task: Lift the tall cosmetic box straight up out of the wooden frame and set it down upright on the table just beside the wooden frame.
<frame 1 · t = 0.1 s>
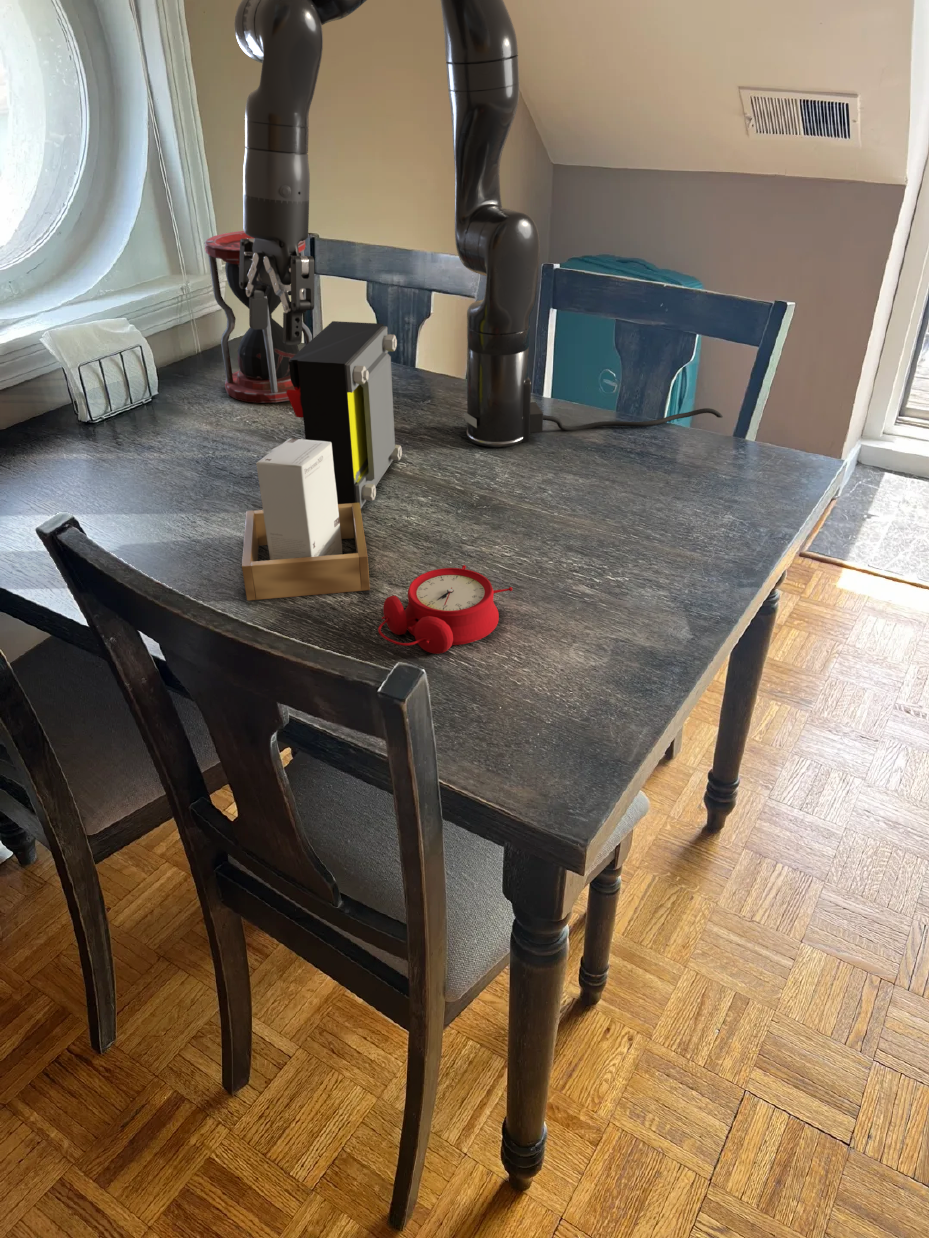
hand: (274, 336, 117), 22 cm above the table, tool pointing down, fingers open, 8 cm apart
wooden frame: (307, 565, 114), on the table
cosmetic box: (308, 567, 114), resting in wooden frame
hourglass: (272, 389, 167), on the table
alarm clock: (440, 628, 103), on the table
electrical component: (354, 483, 134), on the table
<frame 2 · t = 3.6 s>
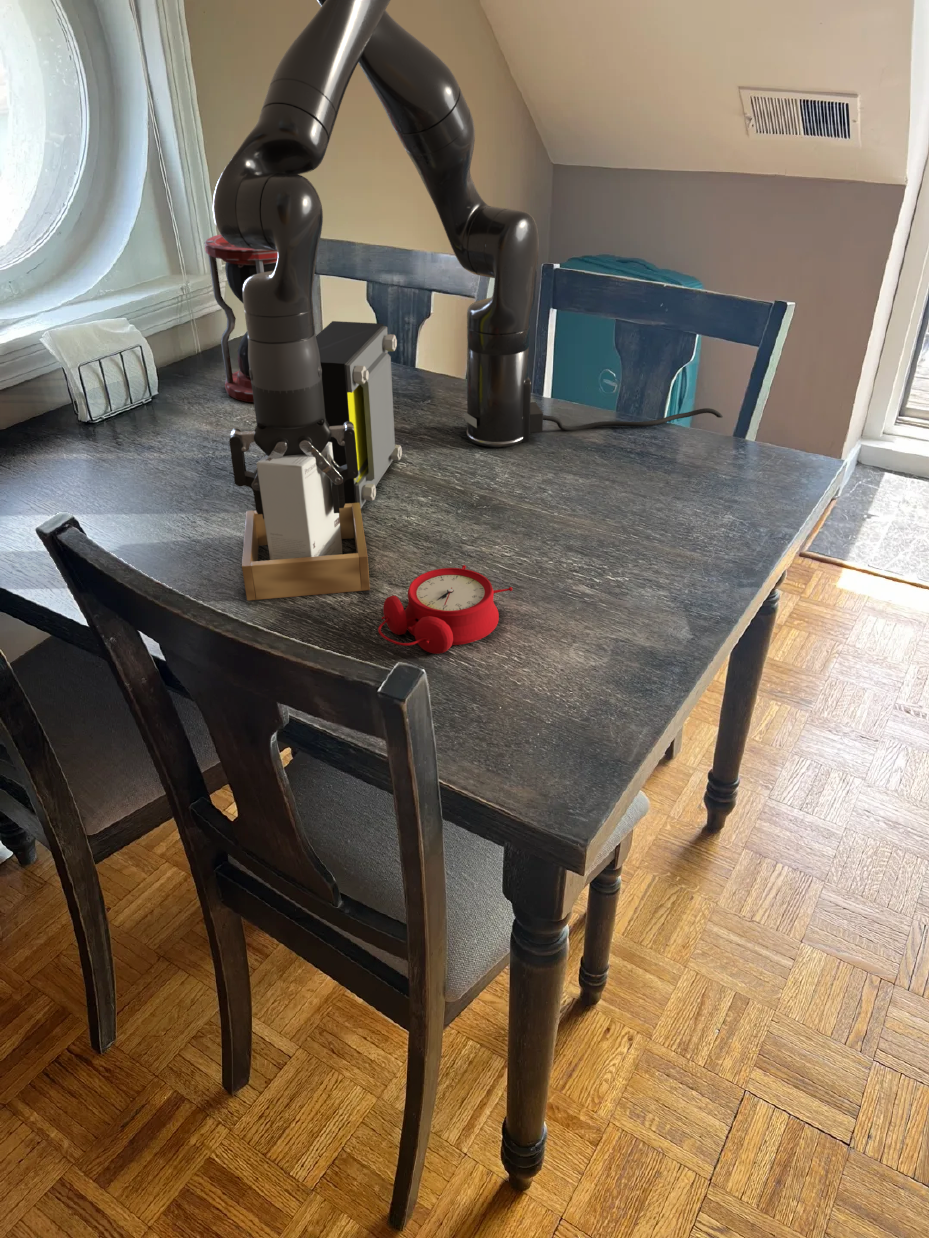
hand: (301, 513, 110), 7 cm above the table, tool pointing down, fingers closed on cosmetic box, 7 cm apart
cosmetic box: (308, 567, 114), resting in wooden frame, touching gripper
everything else where it was.
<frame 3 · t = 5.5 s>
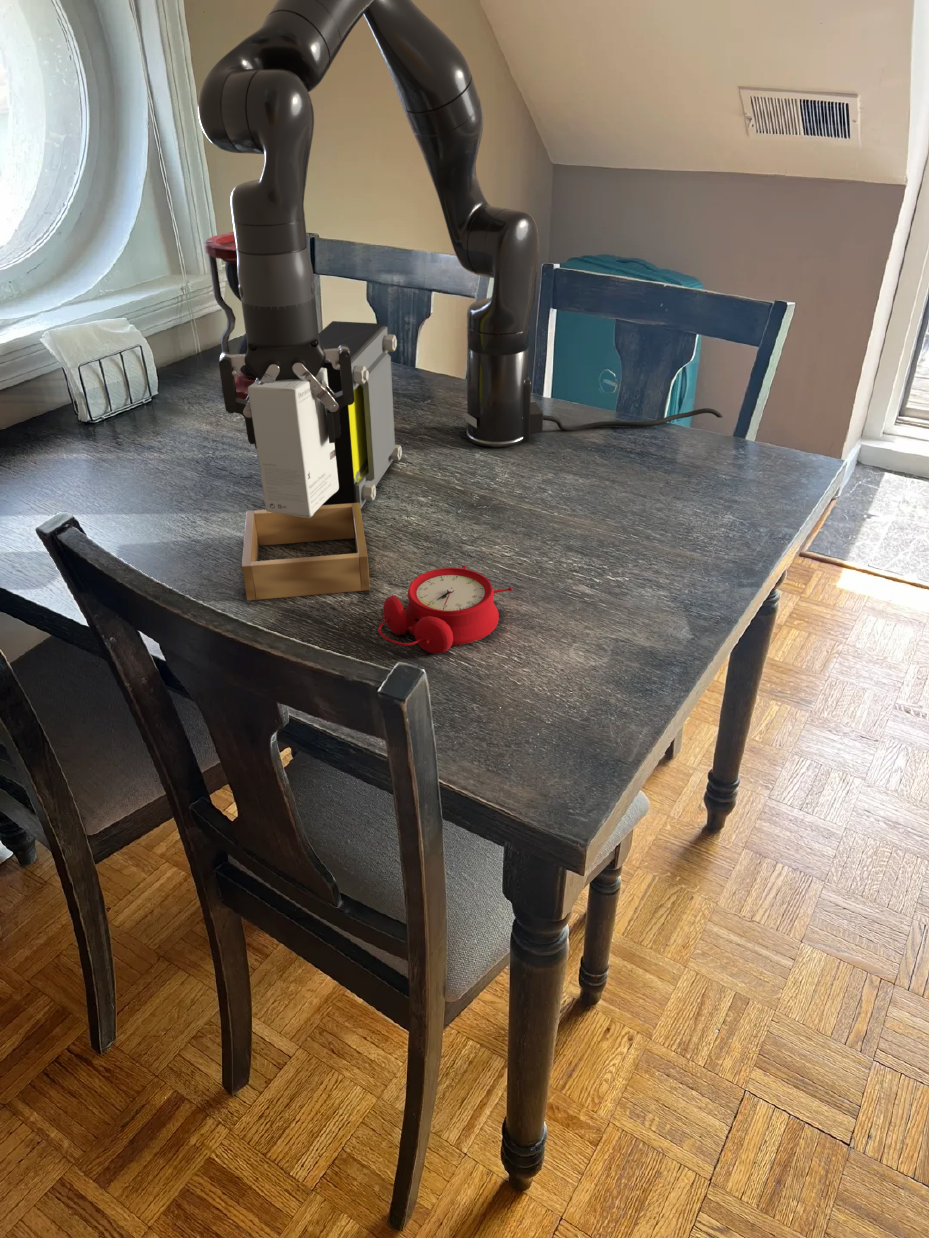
hand: (295, 443, 105), 16 cm above the table, tool pointing down, fingers closed on cosmetic box, 7 cm apart
cosmetic box: (303, 502, 109), point 8 cm above the table, touching gripper
everything else where it was.
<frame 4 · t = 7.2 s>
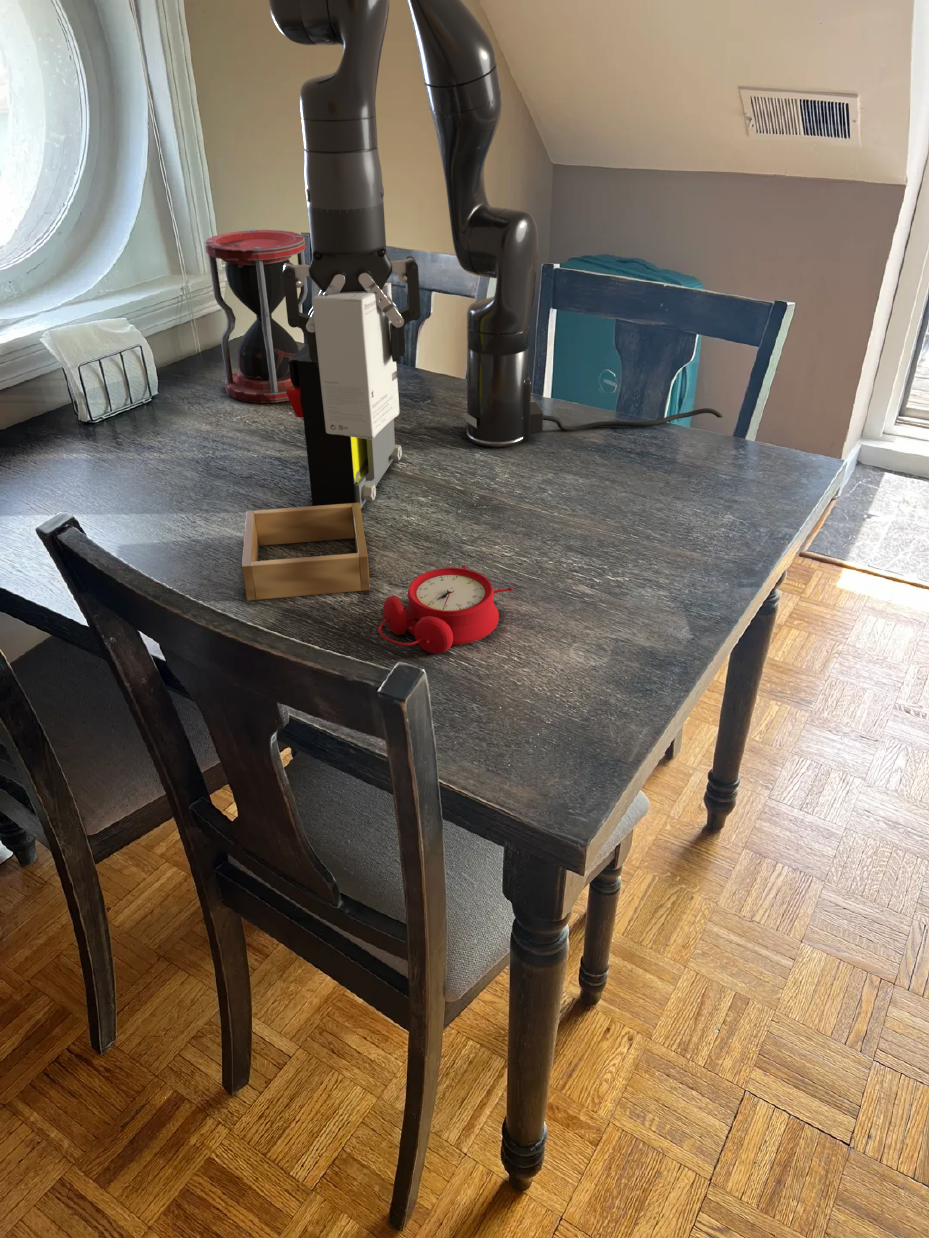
hand: (357, 362, 102), 24 cm above the table, tool pointing down, fingers closed on cosmetic box, 7 cm apart
cosmetic box: (363, 425, 106), point 17 cm above the table, touching gripper
everything else where it was.
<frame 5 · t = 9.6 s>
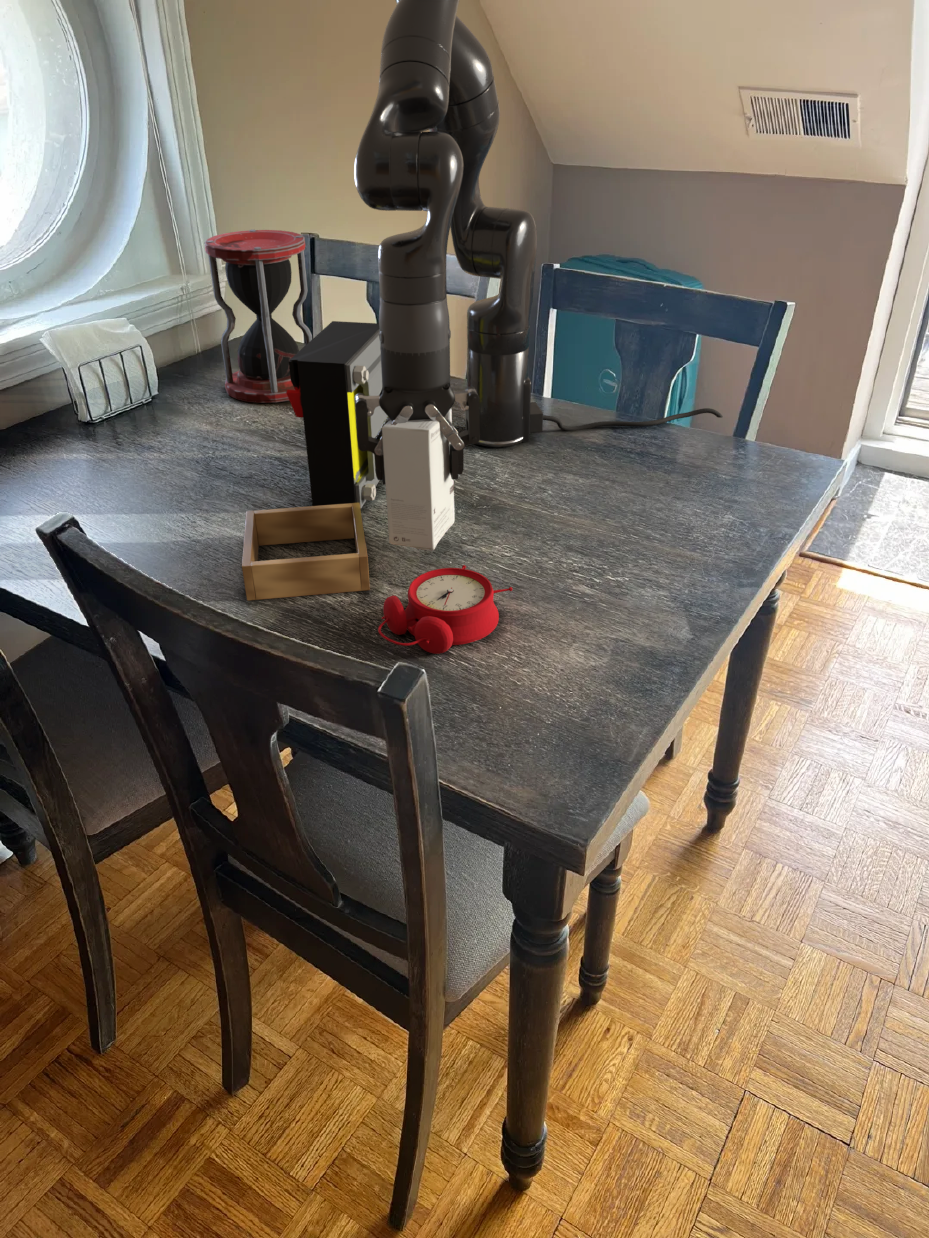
hand: (419, 479, 110), 10 cm above the table, tool pointing down, fingers closed on cosmetic box, 7 cm apart
cosmetic box: (421, 534, 114), point 3 cm above the table, touching gripper
everything else where it was.
when the fingers open (7 cm above the table, at t = 11.2 s): cosmetic box stays where it is, on the table.
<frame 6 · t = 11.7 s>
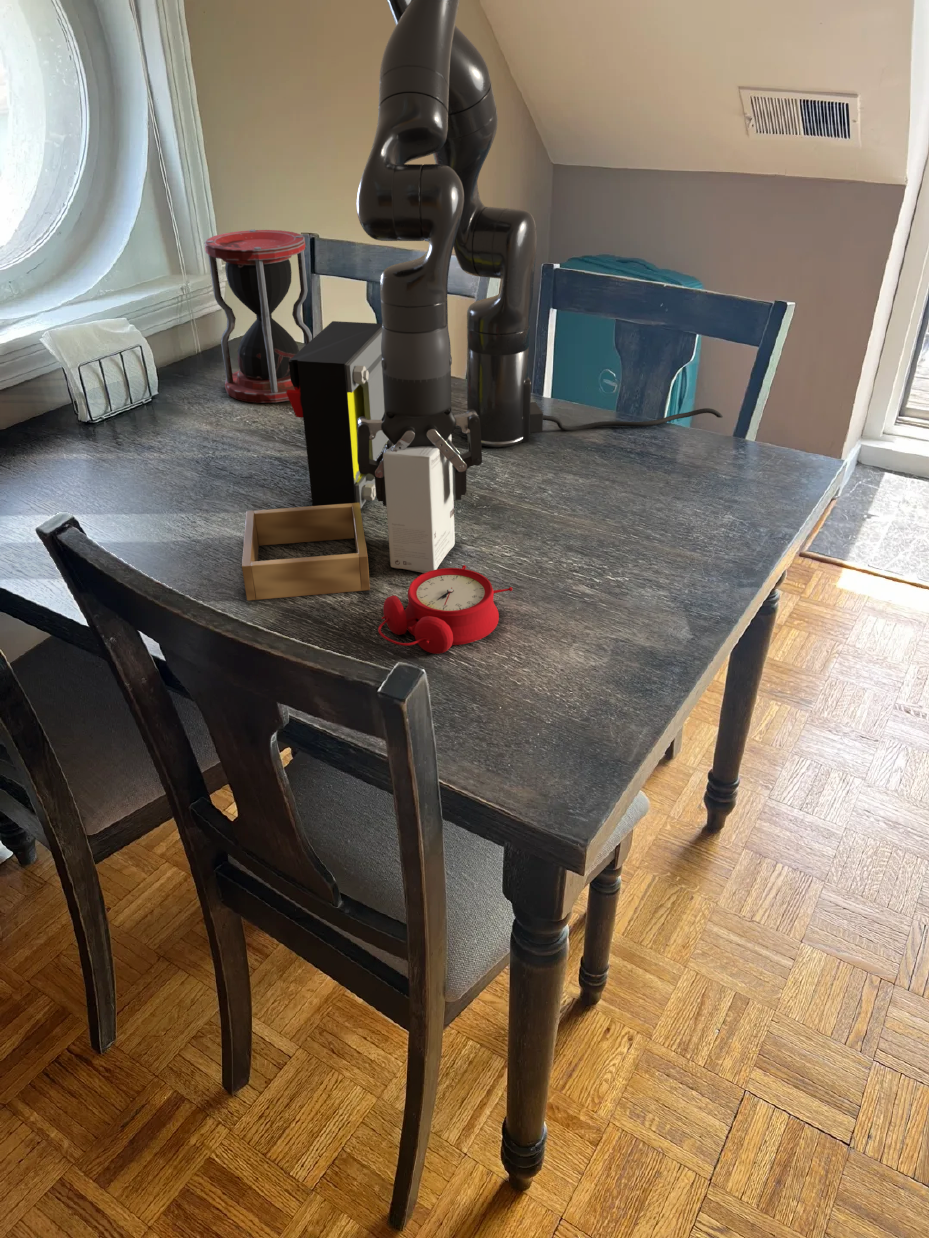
hand: (421, 500, 112), 8 cm above the table, tool pointing down, fingers open, 8 cm apart
cosmetic box: (422, 557, 116), on the table
everything else where it was.
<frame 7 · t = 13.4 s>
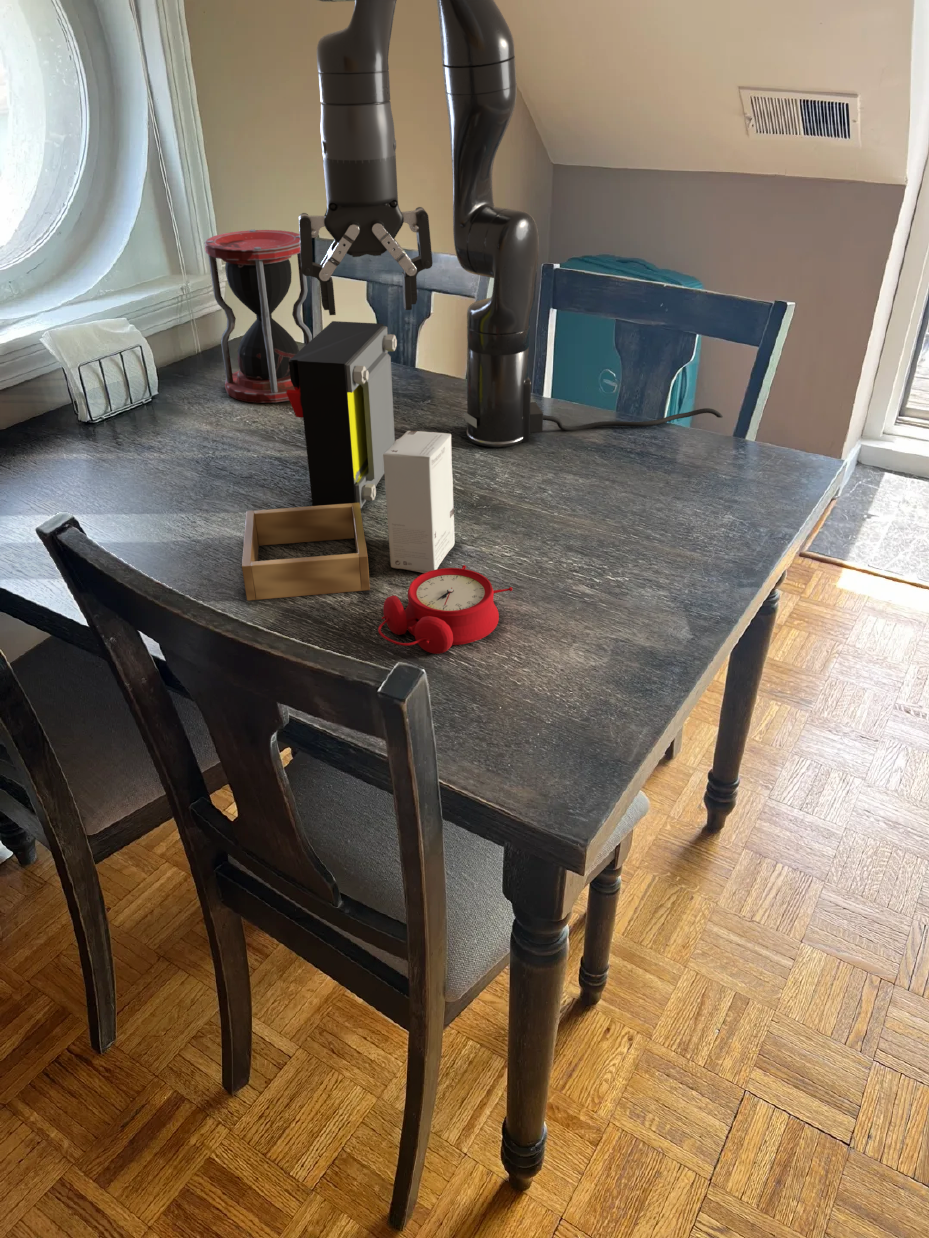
hand: (370, 311, 106), 28 cm above the table, tool pointing down, fingers open, 8 cm apart
nothing on the table moved.
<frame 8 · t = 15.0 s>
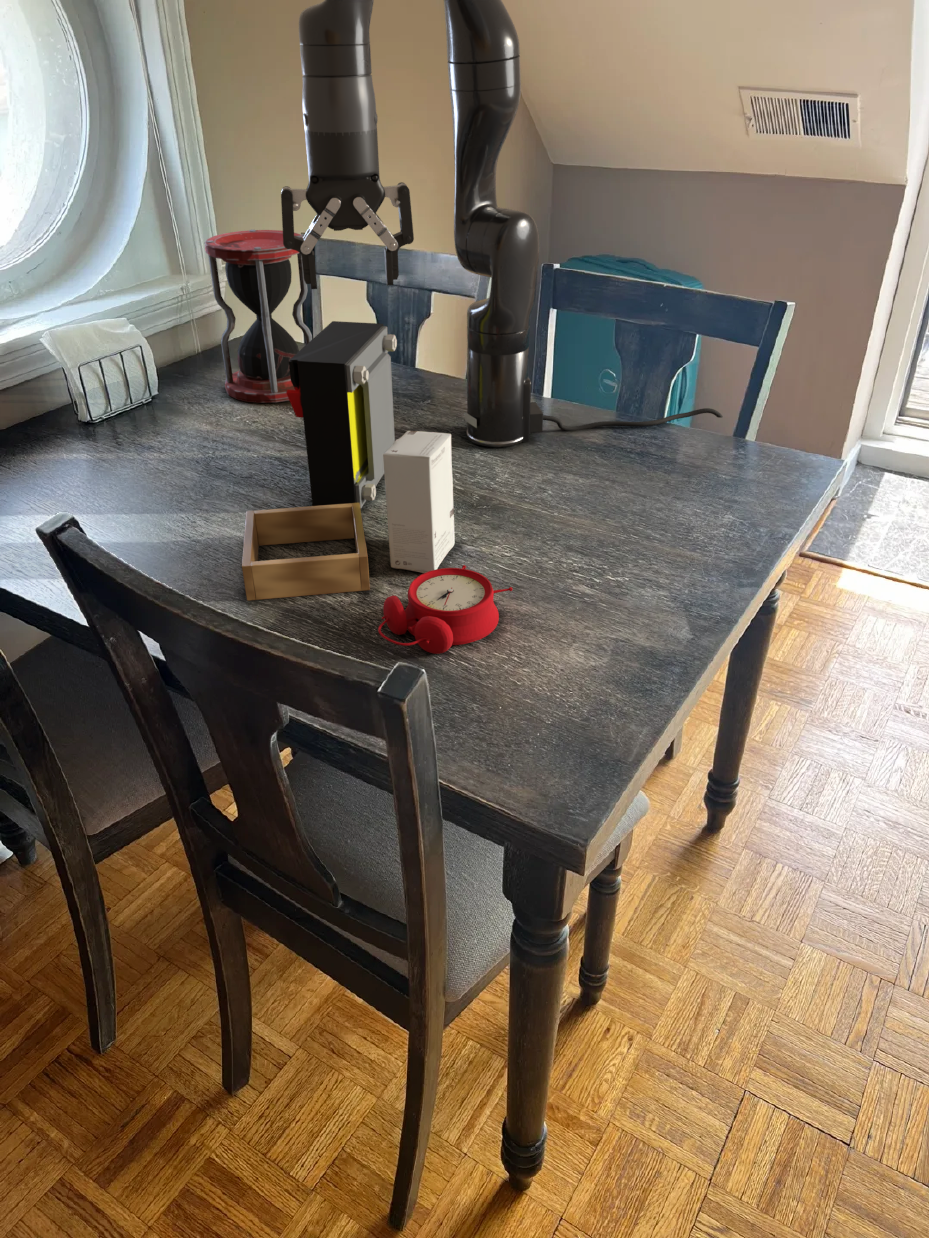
hand: (351, 286, 107), 30 cm above the table, tool pointing down, fingers open, 8 cm apart
nothing on the table moved.
at the end: cosmetic box inside the target area (0.1 cm from its centre), on the table; cosmetic box tilted 0°; the gripper is holding nothing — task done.
